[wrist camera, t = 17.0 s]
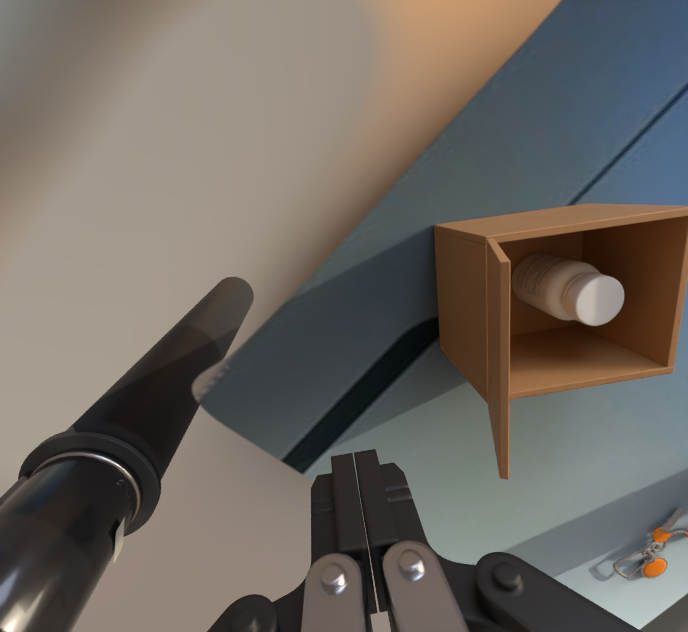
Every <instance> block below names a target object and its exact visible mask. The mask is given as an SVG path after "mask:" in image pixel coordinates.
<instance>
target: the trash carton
mask: <svg viewBox="0 0 688 632" xmlns="http://www.w3.org/2000/svg"><path fill="white" fill-rule="evenodd" d="M487 239H494V240H495V241H496V242H497V244H498V245H499V246H500V248H501V249H502V251H503V252H504V253H505V255H506V256H507V258H508V259H509V260H510V373H509V400H510V399H516V398H523V397H529V396H535V395H541V394H547V393H553V392H559V391H565V390H572V389H578V388H584V387H590V386H596V385H602V384H608V383H614V382H620V381H627V380H633V379H639V378H645V377H651V376H657V375H663V374H669V373H673V366H674V361H675V355H676V348H677V342H678V335H679V329H680V323H681V316H682V310H683V303H684V297H685V291H686V284H687V278H688V206H670V205H630V204H590V203H586V204H579V205H572V206H565V207H558V208H550V209H543V210H536V211H529V212H522V213H515V214H507V215H500V216H493V217H486V218H479V219H472V220H464V221H457V222H450V223H443V224H436V225H434V240H435V259H436V278H437V297H438V316H439V335H440V349H441V350H442V351H443V353H444V354H445V355H446V356H447V357H448V358H449V360H450V361H451V362H452V363H453V364H454V365H455V366H456V368H457V369H458V370H459V371H460V372H461V373H462V374H463V376H464V377H465V378H466V379H467V380H468V381H469V383H470V384H471V385H472V386H473V387H474V388H475V389H476V391H477V392H478V393H479V394H480V395H481V396H482V398H483V399H484V400H485V401H486V402H487V403H488V330H487ZM535 253H546V254H551V255H555V256H560V257H564V258H568V259H573V260H578V261H581V262H585V263H588V264H590V265H592V266H594V267H595V268H596V269H597V270H598V271H599V272H600V273H601V274H603V275H606V276H610V277H612V278H615V279H616V280H618V281H619V282H620V283H621V285H622V287H623V290H624V302H623V305H622V307H621V309H620V311H619V312H618V314H617V315H616V316H615V317H614V318H613V319H612V320H610V321H609V322H607V323H605V324H602V325H598V326H590V325H586V324H584V323H581V322H579V321H576V320H570V321H568V320H561V319H558V318H556V317H553V316H551V315H549V314H547V313H545V312H543V311H541V310H539V309H537V308H535V307H533V306H531V305H528V304H526V303H524V302H523V301H521V300H519V299H518V298H517V297H516V296H515V294H514V292H513V290H512V286H511V278H512V274H513V272H514V270H515V268H516V266H517V265H518V264H519V263H520V262H521V261H522V260H523V259H524V258H526V257H527V256H529V255H532V254H535Z"/></svg>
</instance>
